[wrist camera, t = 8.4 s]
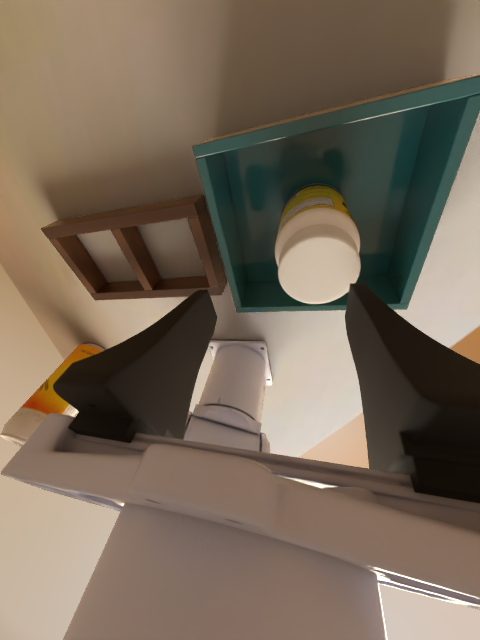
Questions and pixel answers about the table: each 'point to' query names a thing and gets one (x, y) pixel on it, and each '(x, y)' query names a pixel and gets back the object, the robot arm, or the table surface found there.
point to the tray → (341, 186)
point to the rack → (140, 250)
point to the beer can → (44, 401)
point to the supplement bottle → (317, 245)
